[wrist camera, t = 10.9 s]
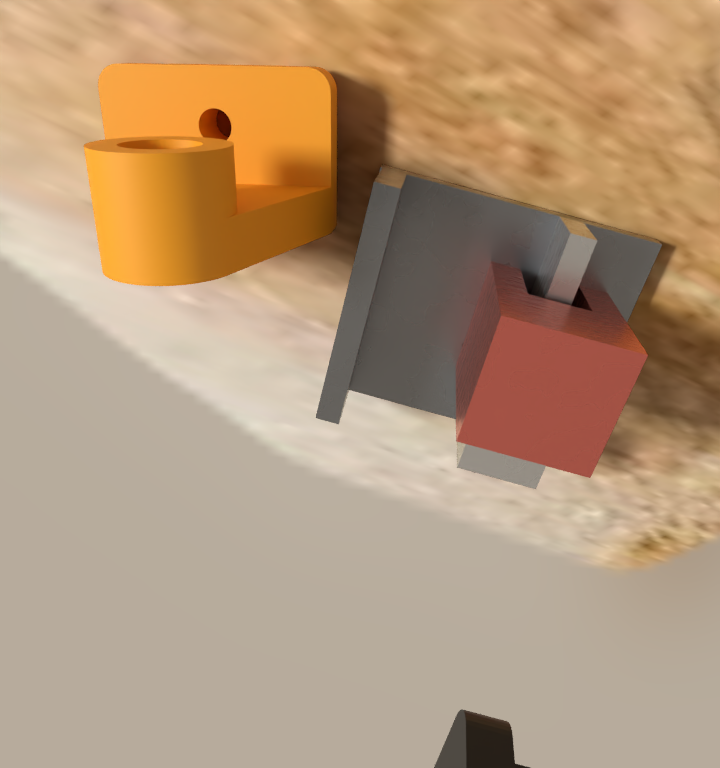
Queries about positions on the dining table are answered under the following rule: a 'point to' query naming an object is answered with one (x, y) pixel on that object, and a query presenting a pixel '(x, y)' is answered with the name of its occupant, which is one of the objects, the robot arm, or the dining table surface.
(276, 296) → the dining table surface
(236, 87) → the bracket
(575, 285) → the bracket
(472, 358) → the block
